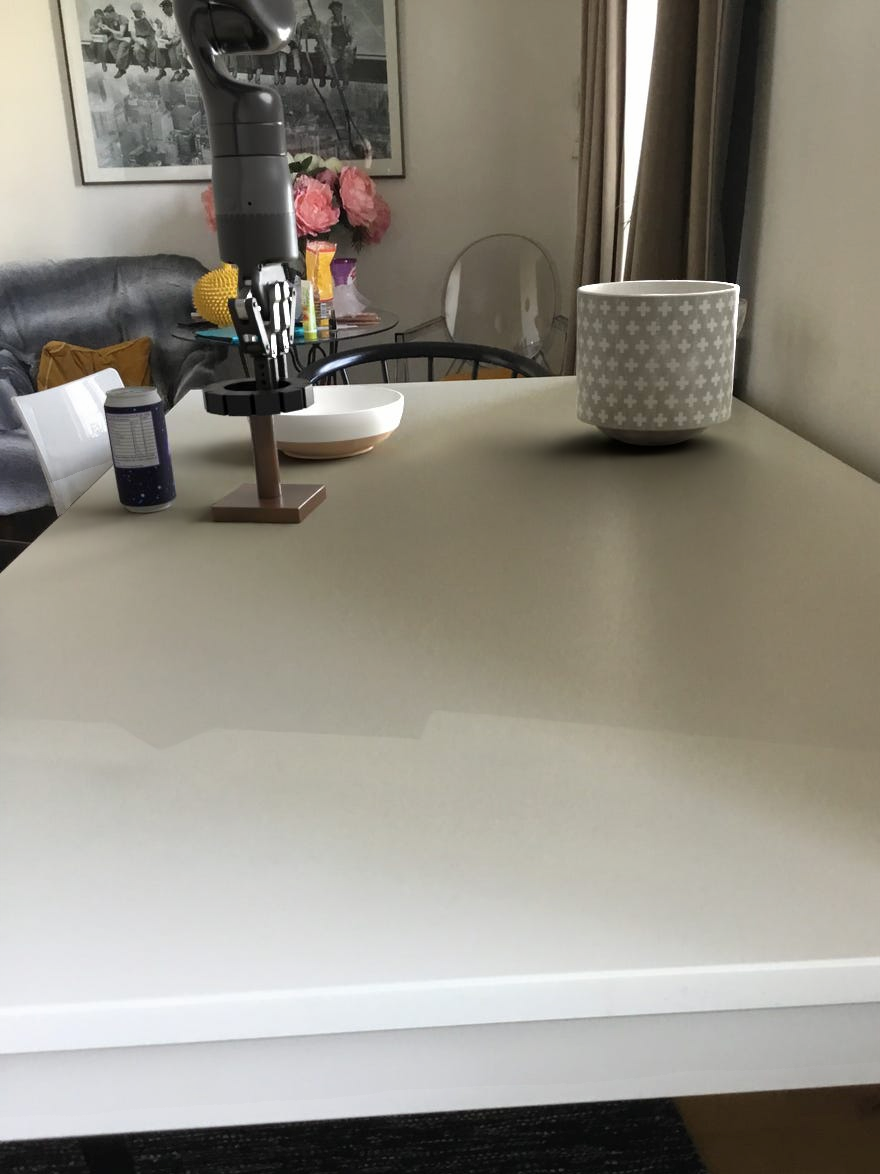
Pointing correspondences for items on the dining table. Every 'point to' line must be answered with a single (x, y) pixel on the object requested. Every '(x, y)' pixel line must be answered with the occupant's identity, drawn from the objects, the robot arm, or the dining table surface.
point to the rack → (268, 486)
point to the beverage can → (140, 448)
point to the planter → (655, 358)
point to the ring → (257, 397)
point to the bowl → (339, 422)
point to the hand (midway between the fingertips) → (273, 392)
